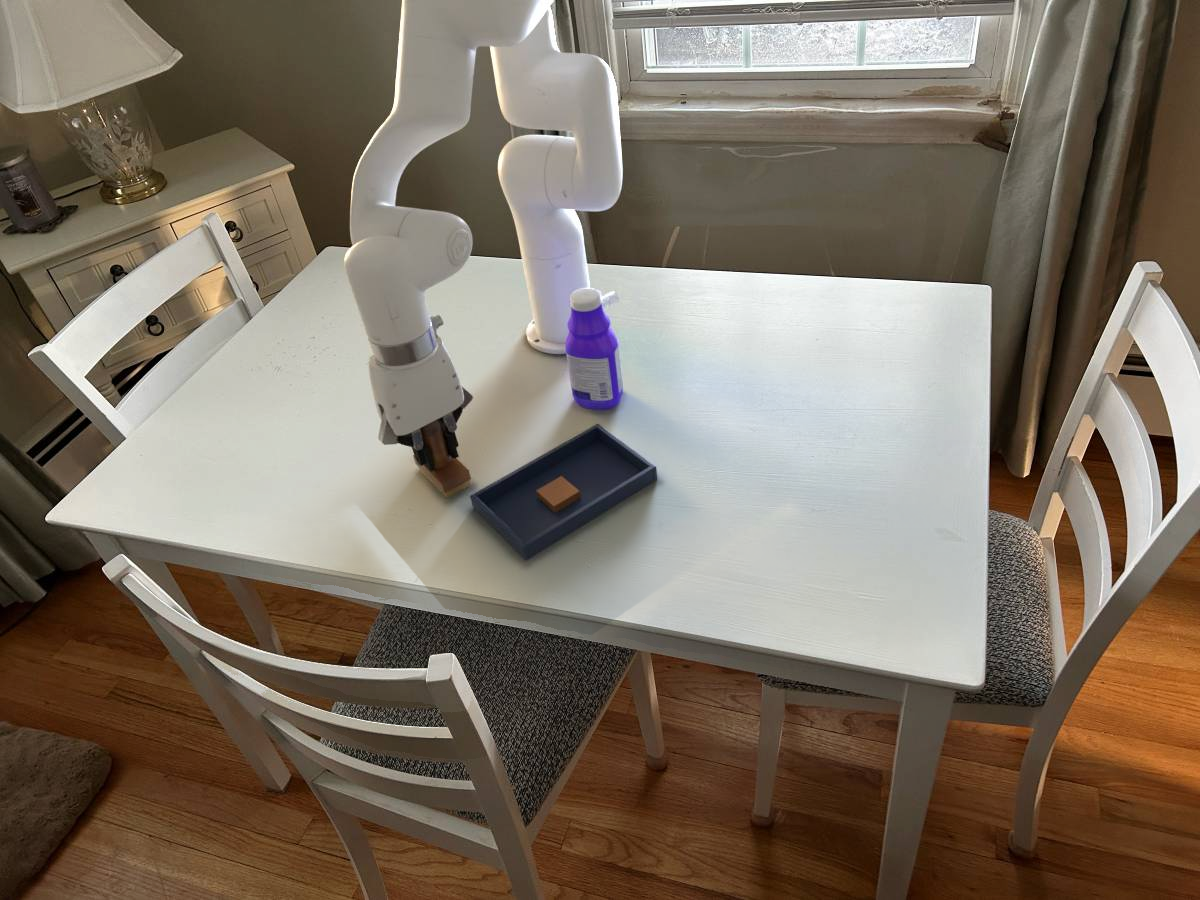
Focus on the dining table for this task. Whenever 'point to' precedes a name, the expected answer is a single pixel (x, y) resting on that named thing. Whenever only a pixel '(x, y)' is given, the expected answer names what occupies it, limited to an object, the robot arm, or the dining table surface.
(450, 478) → the wooden stamp
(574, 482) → the tray
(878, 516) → the dining table surface
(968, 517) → the dining table surface
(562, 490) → the brown square tile
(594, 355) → the bottle
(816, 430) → the dining table surface
